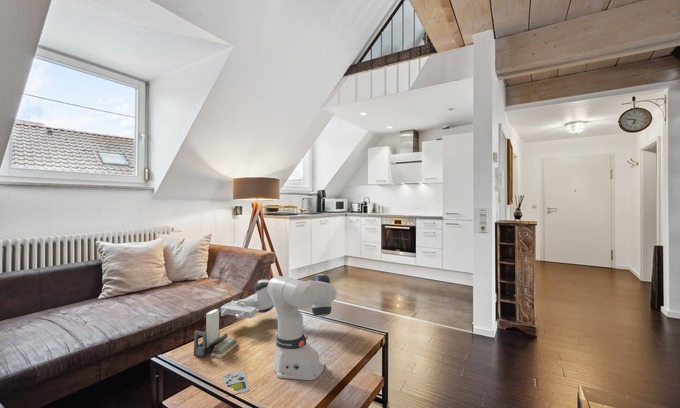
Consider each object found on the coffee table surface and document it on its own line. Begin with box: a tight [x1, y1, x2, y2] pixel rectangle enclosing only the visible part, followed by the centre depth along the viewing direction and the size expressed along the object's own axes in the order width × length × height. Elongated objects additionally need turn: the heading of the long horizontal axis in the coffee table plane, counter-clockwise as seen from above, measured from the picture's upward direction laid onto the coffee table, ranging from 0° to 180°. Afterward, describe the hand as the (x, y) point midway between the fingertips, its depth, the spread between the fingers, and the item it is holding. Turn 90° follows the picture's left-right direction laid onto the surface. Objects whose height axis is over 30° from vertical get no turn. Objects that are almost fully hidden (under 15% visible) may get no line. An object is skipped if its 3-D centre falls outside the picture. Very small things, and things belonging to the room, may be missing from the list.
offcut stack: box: [210, 336, 239, 359], centre depth 146 cm, size 5×14×4 cm, turn 164°
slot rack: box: [193, 330, 228, 358], centre depth 148 cm, size 6×16×11 cm, turn 163°
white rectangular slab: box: [205, 308, 220, 345], centre depth 148 cm, size 2×6×18 cm, turn 163°
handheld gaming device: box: [222, 370, 250, 394], centre depth 121 cm, size 9×1×15 cm
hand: (229, 315), depth 161 cm, fingers open, 8 cm apart
